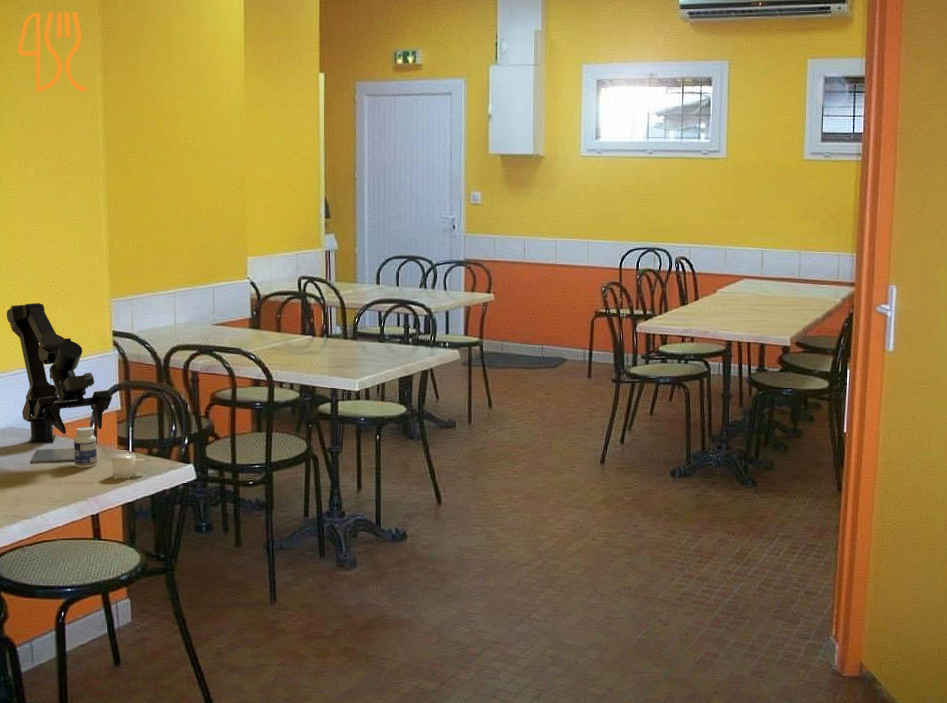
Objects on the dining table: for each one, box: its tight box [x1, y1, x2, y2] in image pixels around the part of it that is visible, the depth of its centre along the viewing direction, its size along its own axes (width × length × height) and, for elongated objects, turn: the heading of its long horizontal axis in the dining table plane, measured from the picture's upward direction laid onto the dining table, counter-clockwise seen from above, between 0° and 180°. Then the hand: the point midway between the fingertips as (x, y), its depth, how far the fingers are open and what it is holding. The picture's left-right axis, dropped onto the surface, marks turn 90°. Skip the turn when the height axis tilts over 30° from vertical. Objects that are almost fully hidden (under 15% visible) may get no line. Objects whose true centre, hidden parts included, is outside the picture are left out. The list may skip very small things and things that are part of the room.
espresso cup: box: [111, 453, 146, 479], centre depth 291 cm, size 6×8×5 cm
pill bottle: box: [73, 426, 98, 469], centre depth 300 cm, size 5×5×10 cm
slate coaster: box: [30, 447, 75, 464], centre depth 309 cm, size 12×12×1 cm
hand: (82, 430), depth 300 cm, fingers open, 9 cm apart
